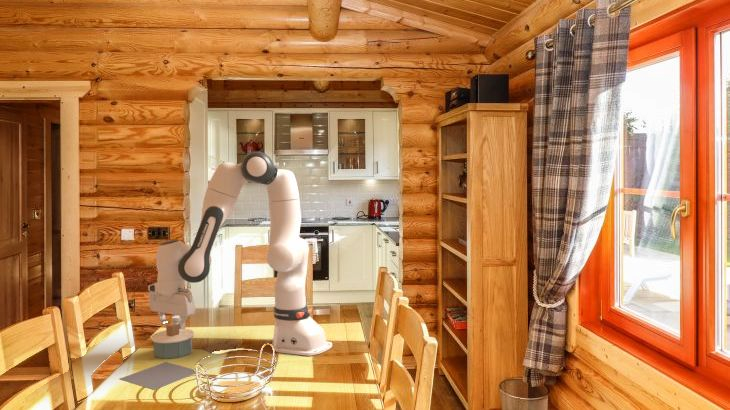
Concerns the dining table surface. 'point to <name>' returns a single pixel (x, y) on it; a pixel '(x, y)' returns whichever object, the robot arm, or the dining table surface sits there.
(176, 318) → the supplement bottle
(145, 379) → the mat
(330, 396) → the dining table surface
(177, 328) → the lid
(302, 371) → the dining table surface
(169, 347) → the grey octagonal ring
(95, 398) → the dining table surface
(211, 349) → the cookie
